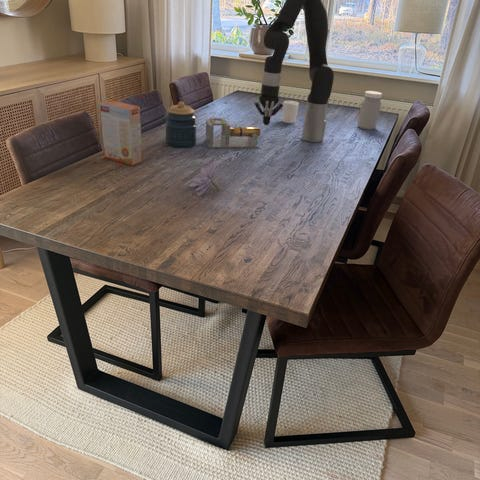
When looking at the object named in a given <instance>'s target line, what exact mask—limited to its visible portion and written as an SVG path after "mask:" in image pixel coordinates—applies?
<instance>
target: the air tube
mask: <svg viewBox="0 0 480 480" xmlns="http://www.w3.org/2000/svg"><path fill="white" fill-rule="evenodd" d="M252 134H258V138H259V137H260V136H261V128H260V127H258V126H253V127H252V126H230V135H229V138H230V137H231V138H232V137H233V138H234V137H235V138H236V137H237V138H238V137H239V138H242V137H245V138H246V137H247V138H248V137H252Z"/></svg>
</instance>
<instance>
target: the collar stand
mask: <svg viewBox="0 0 480 480" xmlns="http://www.w3.org/2000/svg"><path fill="white" fill-rule="evenodd" d="M205 119H206V118H205ZM216 121H220V122H216ZM214 126H221V129H220V130H221V136H220V138H214ZM230 127H231V124H230V123H229V122H228V121H227V119H223V118H222V117H209V118H207V119H206V120H205V138H204V142H205V143H206V144H205V145H206V146H207V147H208V149H259V148H260V146H259V145H258V142H259V140H258V139H259V137H258V134H252V137H247V138H230V136H229V135H230Z"/></svg>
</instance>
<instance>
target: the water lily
mask: <svg viewBox="0 0 480 480" xmlns="http://www.w3.org/2000/svg"><path fill="white" fill-rule="evenodd" d="M219 168H220V164H218V165H217V157H216V158H215V159H214V160H213V163H210V164H209V166H208V169H207V168H206V167H202V168H200V175H201V176H202V177H194V178H193V179H192V180H193V182H192V183H190V185H189V186H188V187H191V188H193V187H198V188H196V189H195V192H198V191H199V192H198V193H197V196H198V195H199V196H198V197H197V196H196V197H197V198H199V197H200V196H202V195H203V193H205V191H206V190H208V187H209V186H210V184H212V186H213V187H214V188H216V190H217V191H218V192H220V191H221V189H220V188H219V187H218V186H217V185H216V184H215V182H213V179H214V178H215V176H216V175H217V174H218V171H219Z"/></svg>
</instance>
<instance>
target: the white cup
mask: <svg viewBox="0 0 480 480" xmlns="http://www.w3.org/2000/svg"><path fill="white" fill-rule="evenodd" d="M282 104H283V107H282V122H283V123H285V124H295V123H296V120H297V115H298V110H299V105H300V103H299V102H298V101H297V100H296V101H295V100H284V101H283V103H282Z"/></svg>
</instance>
